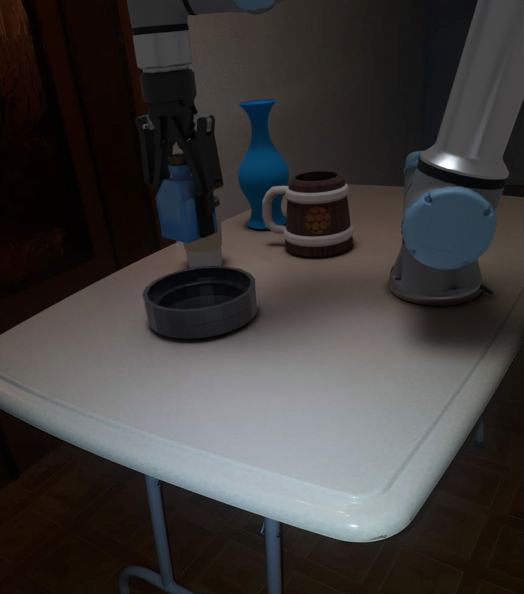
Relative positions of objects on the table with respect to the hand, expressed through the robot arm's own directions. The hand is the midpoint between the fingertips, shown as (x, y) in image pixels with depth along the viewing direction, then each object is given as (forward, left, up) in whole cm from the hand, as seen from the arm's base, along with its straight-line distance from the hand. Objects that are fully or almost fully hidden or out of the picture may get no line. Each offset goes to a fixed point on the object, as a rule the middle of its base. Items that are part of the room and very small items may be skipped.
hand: (189, 232), depth 87 cm
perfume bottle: (0, 0, -1) cm, 1 cm away
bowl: (0, 0, -15) cm, 15 cm away
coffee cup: (+16, -19, -15) cm, 29 cm away
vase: (+20, -47, -15) cm, 53 cm away
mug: (+2, -37, -15) cm, 40 cm away
